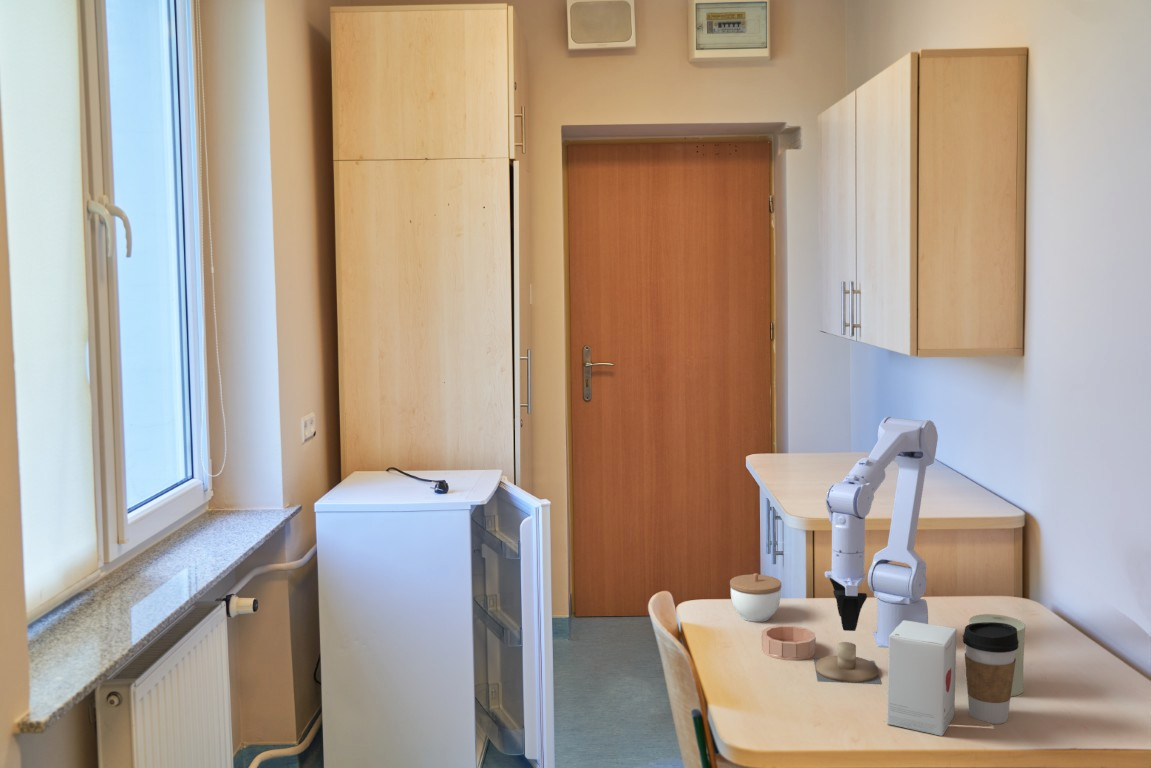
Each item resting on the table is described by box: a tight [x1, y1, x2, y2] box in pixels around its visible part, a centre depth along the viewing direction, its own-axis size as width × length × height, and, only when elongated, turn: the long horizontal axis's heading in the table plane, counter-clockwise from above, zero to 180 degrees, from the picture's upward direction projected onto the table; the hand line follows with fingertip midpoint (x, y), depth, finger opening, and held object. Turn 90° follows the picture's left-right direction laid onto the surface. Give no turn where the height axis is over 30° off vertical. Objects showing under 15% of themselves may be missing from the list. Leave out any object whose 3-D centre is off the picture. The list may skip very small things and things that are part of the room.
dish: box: [761, 624, 817, 661], centre depth 198 cm, size 10×10×4 cm
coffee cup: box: [962, 622, 1019, 725], centre depth 168 cm, size 8×8×15 cm
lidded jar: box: [729, 572, 782, 623], centre depth 218 cm, size 11×11×9 cm
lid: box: [815, 641, 879, 684], centre depth 188 cm, size 11×11×5 cm
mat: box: [813, 657, 882, 685], centre depth 188 cm, size 11×11×1 cm
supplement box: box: [886, 620, 958, 737], centre depth 167 cm, size 9×9×15 cm
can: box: [968, 613, 1026, 697], centre depth 180 cm, size 9×9×12 cm
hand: (847, 622), depth 187 cm, fingers open, 7 cm apart
